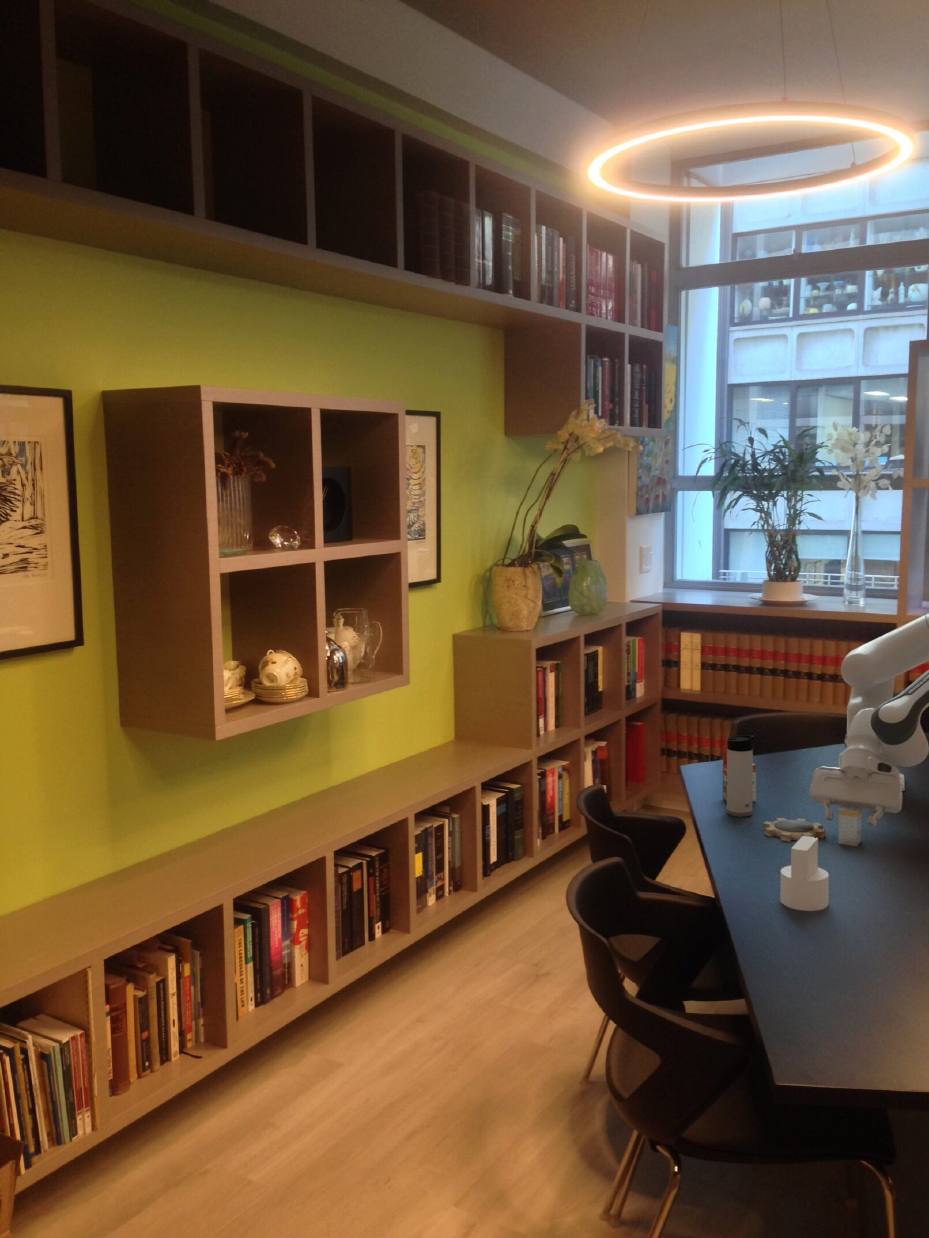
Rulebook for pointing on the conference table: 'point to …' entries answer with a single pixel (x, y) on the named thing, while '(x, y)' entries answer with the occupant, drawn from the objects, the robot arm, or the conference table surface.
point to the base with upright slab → (804, 878)
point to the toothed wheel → (793, 829)
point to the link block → (849, 825)
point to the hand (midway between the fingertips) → (849, 822)
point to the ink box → (726, 776)
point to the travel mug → (740, 775)
